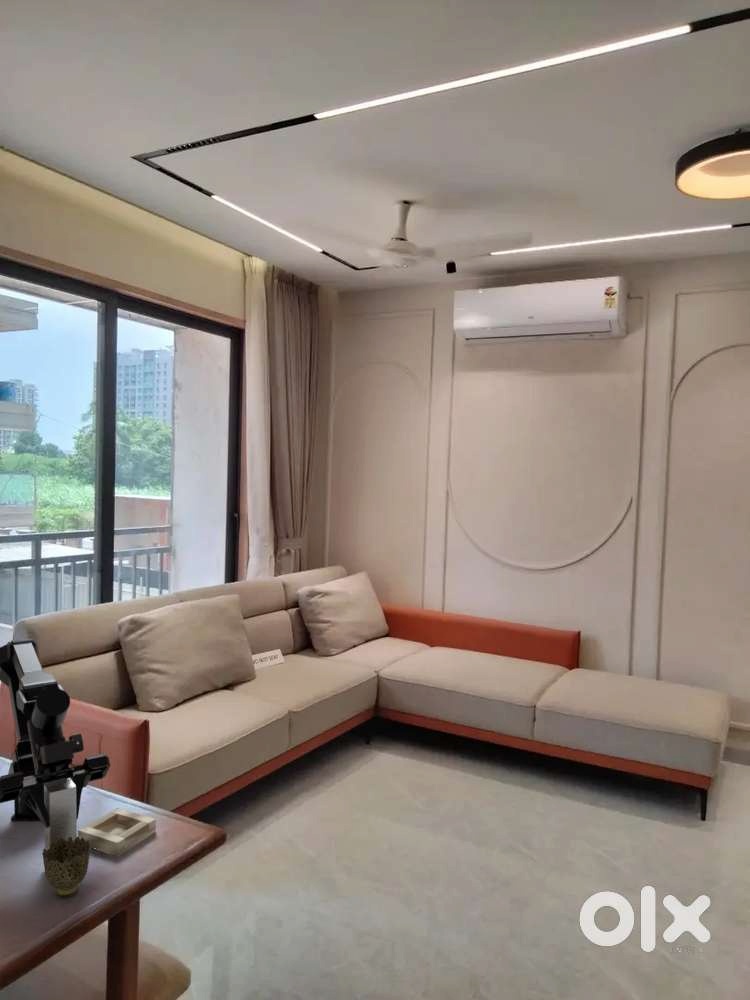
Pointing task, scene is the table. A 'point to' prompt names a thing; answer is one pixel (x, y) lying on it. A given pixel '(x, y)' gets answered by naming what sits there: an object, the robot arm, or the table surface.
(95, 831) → the socket block
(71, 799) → the steel bar
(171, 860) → the table surface
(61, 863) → the cup
